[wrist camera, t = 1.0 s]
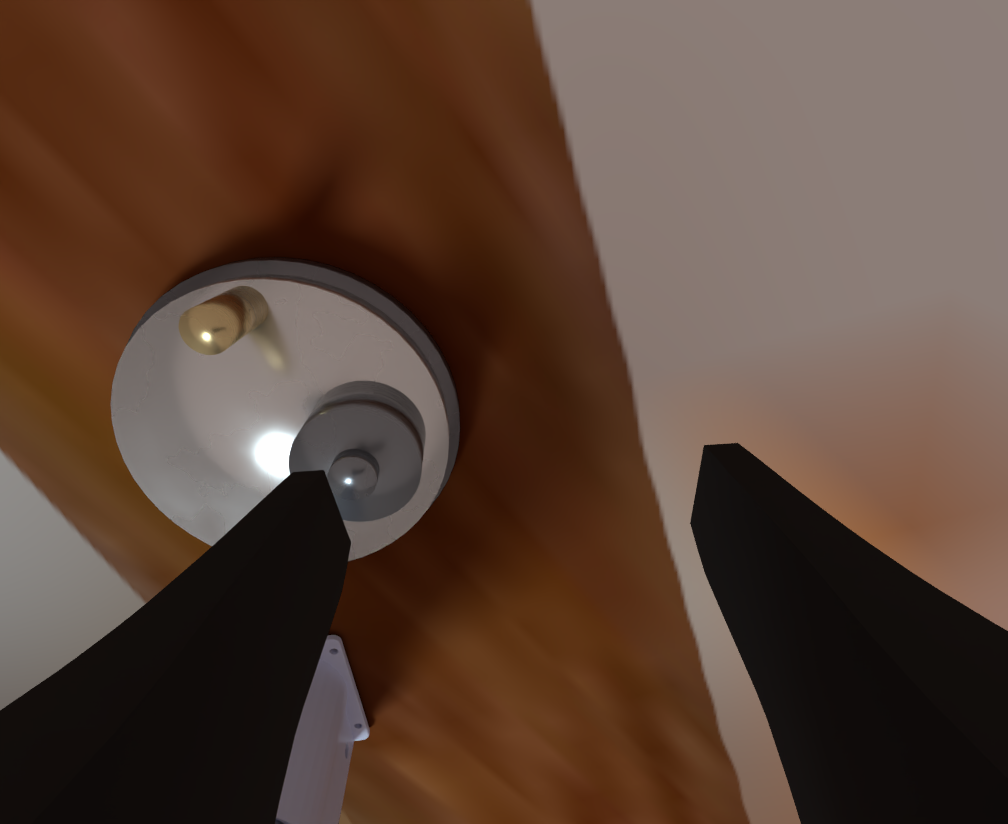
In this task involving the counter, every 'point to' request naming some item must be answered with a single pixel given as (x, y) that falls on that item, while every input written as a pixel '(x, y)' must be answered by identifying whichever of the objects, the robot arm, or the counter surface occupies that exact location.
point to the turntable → (259, 397)
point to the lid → (363, 448)
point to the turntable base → (352, 286)
